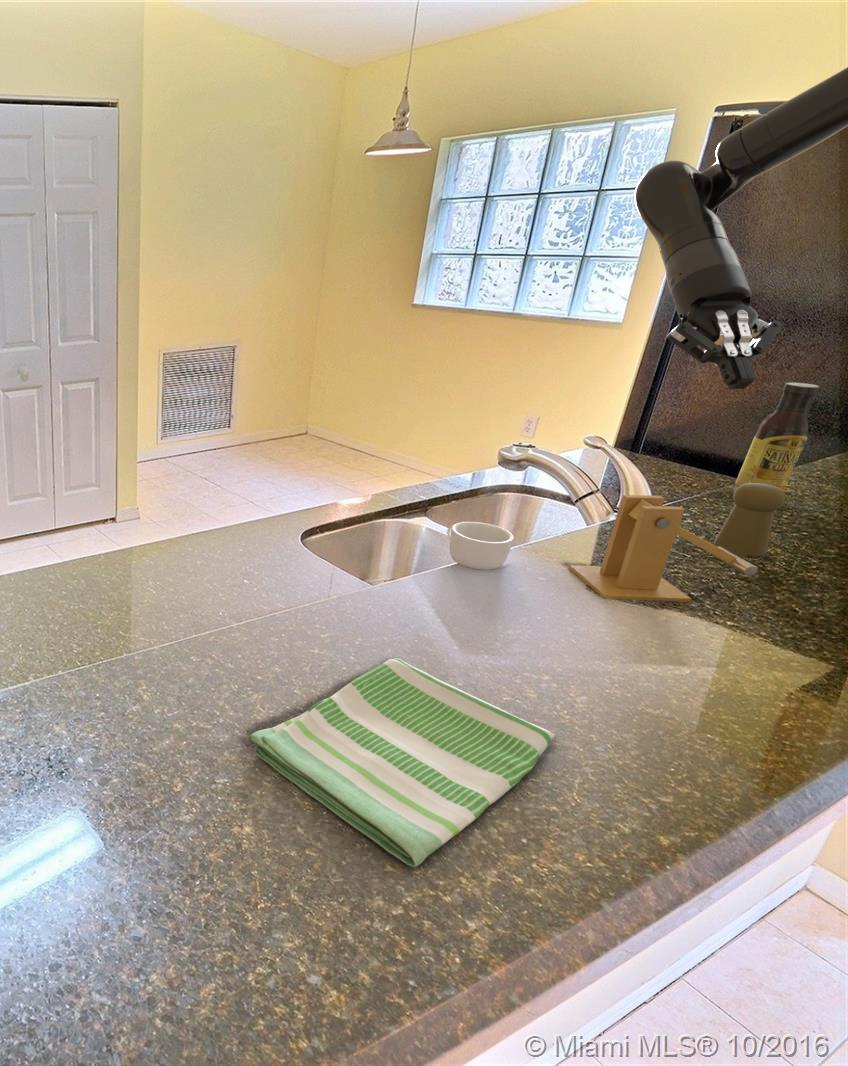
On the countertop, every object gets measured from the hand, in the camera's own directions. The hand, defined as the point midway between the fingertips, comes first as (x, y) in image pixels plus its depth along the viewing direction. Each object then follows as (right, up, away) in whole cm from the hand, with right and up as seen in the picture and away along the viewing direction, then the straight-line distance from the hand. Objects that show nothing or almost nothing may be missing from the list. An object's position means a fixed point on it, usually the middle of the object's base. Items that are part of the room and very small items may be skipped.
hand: (742, 385), depth 93 cm
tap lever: (-9, -21, -1) cm, 23 cm away
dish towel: (-58, -41, -25) cm, 75 cm away
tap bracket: (-13, -27, +3) cm, 30 cm away
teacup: (-29, -24, +12) cm, 39 cm away
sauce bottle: (+33, -13, +31) cm, 47 cm away
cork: (+10, -23, +11) cm, 27 cm away
